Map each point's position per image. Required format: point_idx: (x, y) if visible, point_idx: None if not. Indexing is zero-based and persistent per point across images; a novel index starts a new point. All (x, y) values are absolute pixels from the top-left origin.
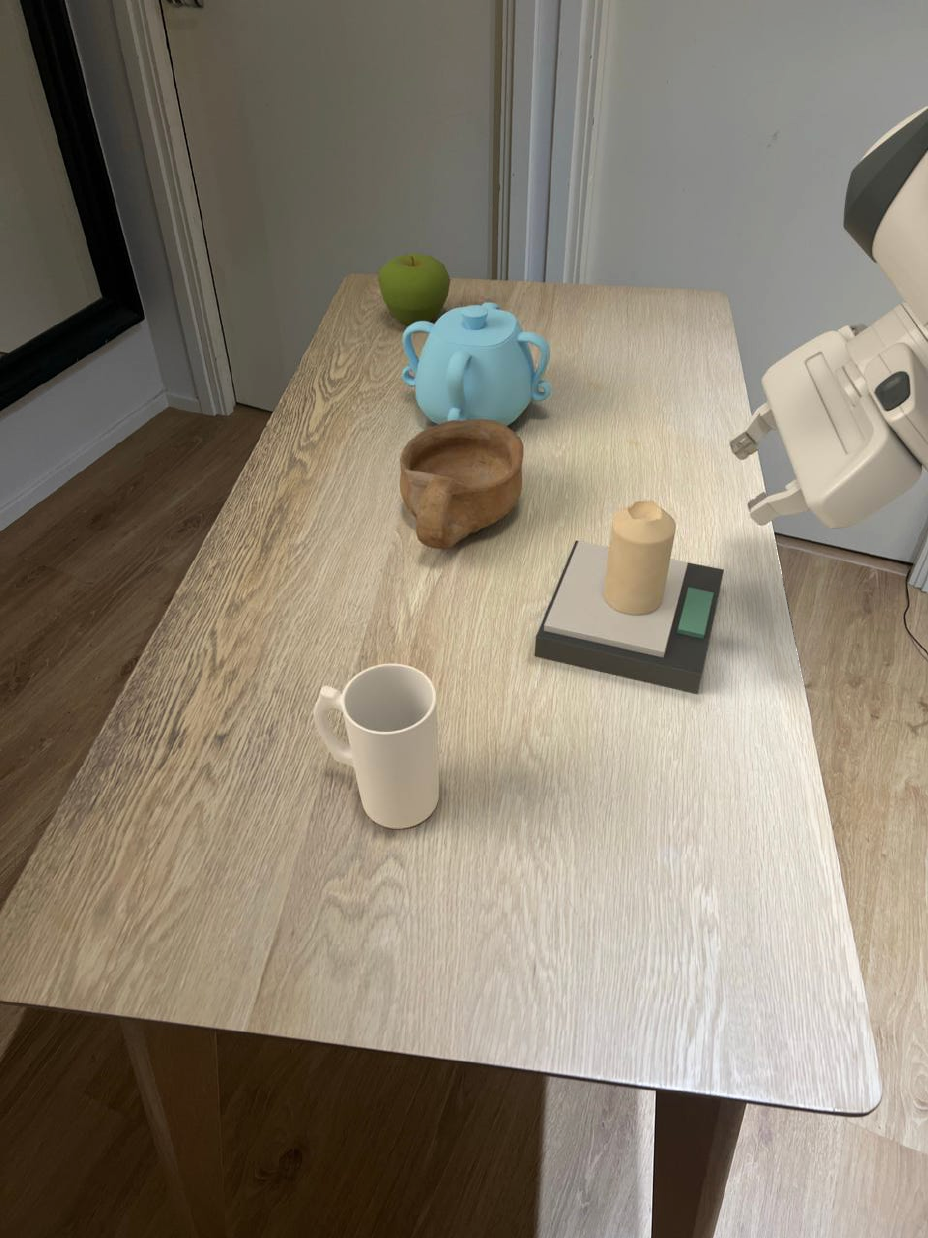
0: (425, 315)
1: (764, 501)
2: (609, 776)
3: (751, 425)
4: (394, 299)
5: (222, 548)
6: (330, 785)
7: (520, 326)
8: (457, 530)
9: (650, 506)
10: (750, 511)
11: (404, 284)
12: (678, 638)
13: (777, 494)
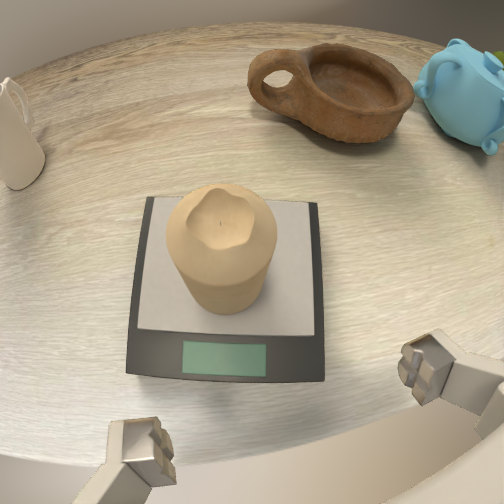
0: None
1: (114, 456)
2: (37, 298)
3: (472, 370)
4: None
5: (230, 25)
6: (38, 134)
7: None
8: (285, 105)
9: (247, 226)
10: (116, 421)
11: (499, 60)
12: (176, 343)
13: (100, 491)
